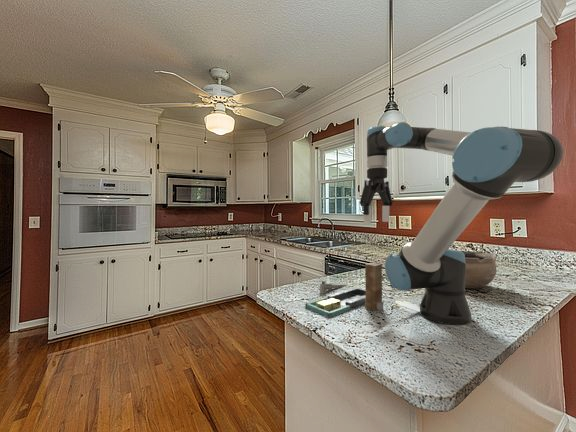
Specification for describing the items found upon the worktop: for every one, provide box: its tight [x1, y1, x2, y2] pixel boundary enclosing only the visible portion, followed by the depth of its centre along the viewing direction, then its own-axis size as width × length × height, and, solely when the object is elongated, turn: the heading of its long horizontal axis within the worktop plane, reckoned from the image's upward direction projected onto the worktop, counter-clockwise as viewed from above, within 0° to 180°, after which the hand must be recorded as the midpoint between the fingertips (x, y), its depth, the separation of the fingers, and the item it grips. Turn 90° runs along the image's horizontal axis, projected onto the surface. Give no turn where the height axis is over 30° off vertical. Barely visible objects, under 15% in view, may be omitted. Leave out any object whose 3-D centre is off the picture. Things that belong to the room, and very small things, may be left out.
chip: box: [325, 298, 342, 311], centre depth 98 cm, size 4×4×3 cm
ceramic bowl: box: [461, 250, 498, 289], centre depth 125 cm, size 22×22×15 cm
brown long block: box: [364, 262, 384, 312], centre depth 96 cm, size 6×4×17 cm, turn 37°
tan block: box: [315, 300, 333, 312], centre depth 96 cm, size 4×4×3 cm
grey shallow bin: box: [326, 286, 366, 310], centre depth 106 cm, size 12×17×3 cm
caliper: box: [319, 280, 349, 295], centre depth 120 cm, size 20×1×6 cm, turn 131°
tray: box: [305, 296, 351, 318], centre depth 97 cm, size 12×10×2 cm
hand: (377, 222), depth 106 cm, fingers open, 13 cm apart
